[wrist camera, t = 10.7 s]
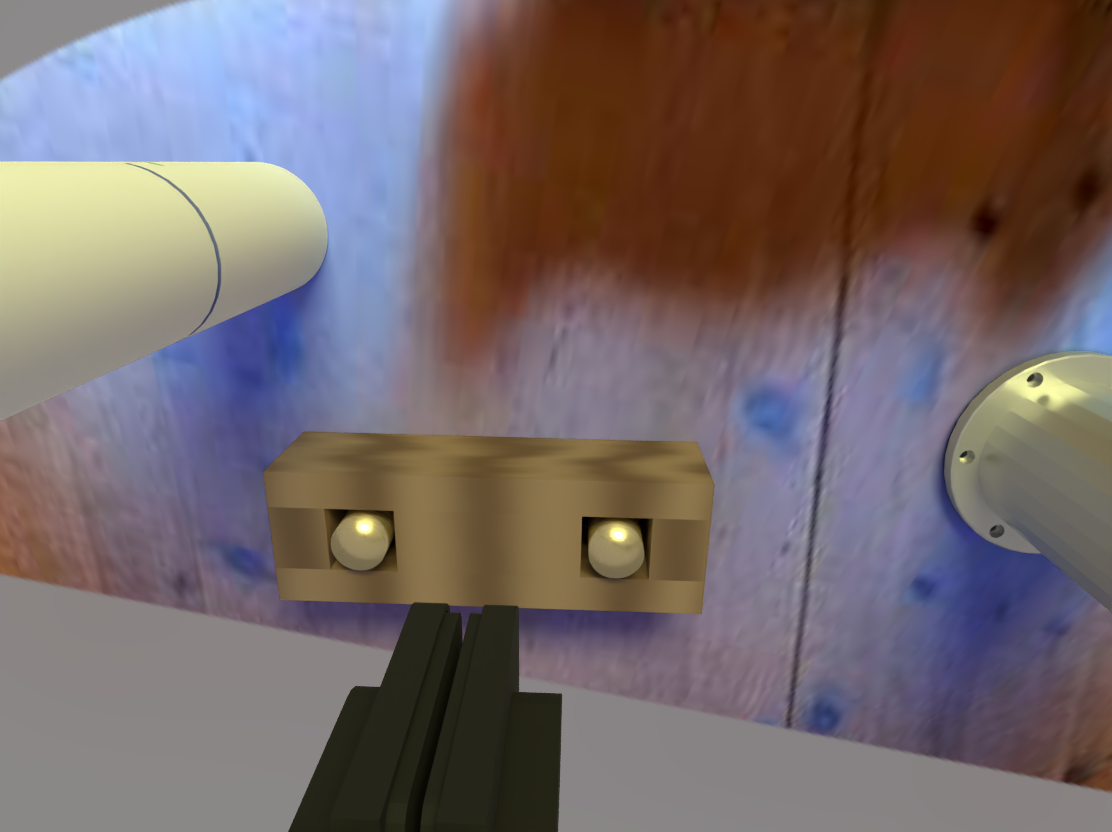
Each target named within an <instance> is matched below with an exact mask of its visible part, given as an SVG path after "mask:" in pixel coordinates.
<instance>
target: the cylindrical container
mask: <svg viewBox="0 0 1112 832" xmlns="http://www.w3.org/2000/svg"><path fill="white" fill-rule="evenodd" d="M327 245H328V231H327V224H326V219H325V216H324V213H323V210H322V208H321V206H320V204H319V202H318V200H317V199H316V197H315V195H314V194H313V193H312V191H311V190H310V189H309V188H308V187H307V185H306V184H305V183H304V182H302V181H301V180H300V179H299V178H298V177H296V176H295V175H294V174H292V173H290V172H289V171H287V170H285V169H284V168H281V167H278V166H275V165H273V164H268V163H262V162H0V421H1V420H3V419H5V418H8V417H10V416H12V415H14V414H17V413H19V412H21V411H23V410H26V409H28V408H30V407H32V406H35V405H37V404H39V403H41V402H44V401H46V400H48V399H50V398H53V397H55V396H57V395H60V394H62V393H64V392H66V391H69V390H71V389H73V388H75V387H78V386H80V385H82V384H84V383H86V382H89V381H91V380H93V379H95V378H98V377H100V376H102V375H104V374H107V373H109V372H111V371H113V370H116V369H118V368H120V367H122V366H125V365H127V364H129V363H131V362H134V361H136V360H138V359H140V358H143V357H145V356H147V355H149V354H152V353H154V352H156V351H158V350H160V349H163V348H165V347H167V346H169V345H172V344H174V343H176V342H178V341H181V340H183V339H185V338H187V337H190V336H192V335H194V334H196V333H199V332H201V331H203V330H205V329H208V328H210V327H212V326H215V325H217V324H219V323H221V322H224V321H226V320H228V319H230V318H233V317H235V316H237V315H239V314H242V313H244V312H246V311H248V310H251V309H253V308H255V307H257V306H260V305H262V304H264V303H266V302H268V301H271V300H273V299H275V298H277V297H280V296H282V295H284V294H286V293H289V292H291V291H293V290H295V289H297V288H299V287H301V286H303V285H305V284H306V283H307V282H308V281H309V280H310V279H311V278H313V277H314V275H315V274H316V273H317V271H318V270H319V268H320V267H321V265H322V262H323V260H324V258H325V254H326V250H327Z"/></svg>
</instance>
